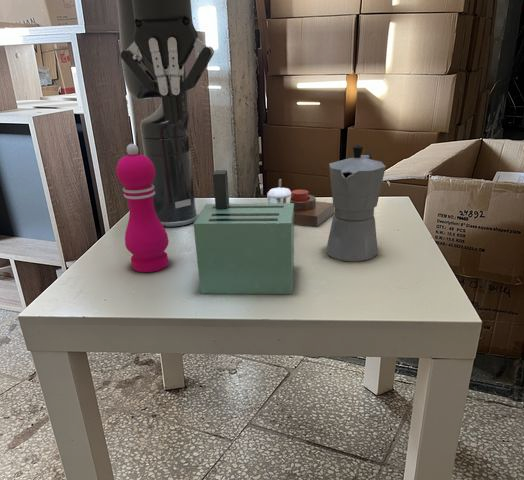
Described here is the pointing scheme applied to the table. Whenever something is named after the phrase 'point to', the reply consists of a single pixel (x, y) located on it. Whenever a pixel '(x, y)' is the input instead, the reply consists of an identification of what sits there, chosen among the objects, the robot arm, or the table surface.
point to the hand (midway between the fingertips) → (175, 123)
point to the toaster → (245, 248)
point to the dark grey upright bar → (221, 189)
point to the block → (311, 211)
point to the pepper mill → (142, 213)
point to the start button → (299, 195)
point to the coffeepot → (354, 206)
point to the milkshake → (279, 195)
